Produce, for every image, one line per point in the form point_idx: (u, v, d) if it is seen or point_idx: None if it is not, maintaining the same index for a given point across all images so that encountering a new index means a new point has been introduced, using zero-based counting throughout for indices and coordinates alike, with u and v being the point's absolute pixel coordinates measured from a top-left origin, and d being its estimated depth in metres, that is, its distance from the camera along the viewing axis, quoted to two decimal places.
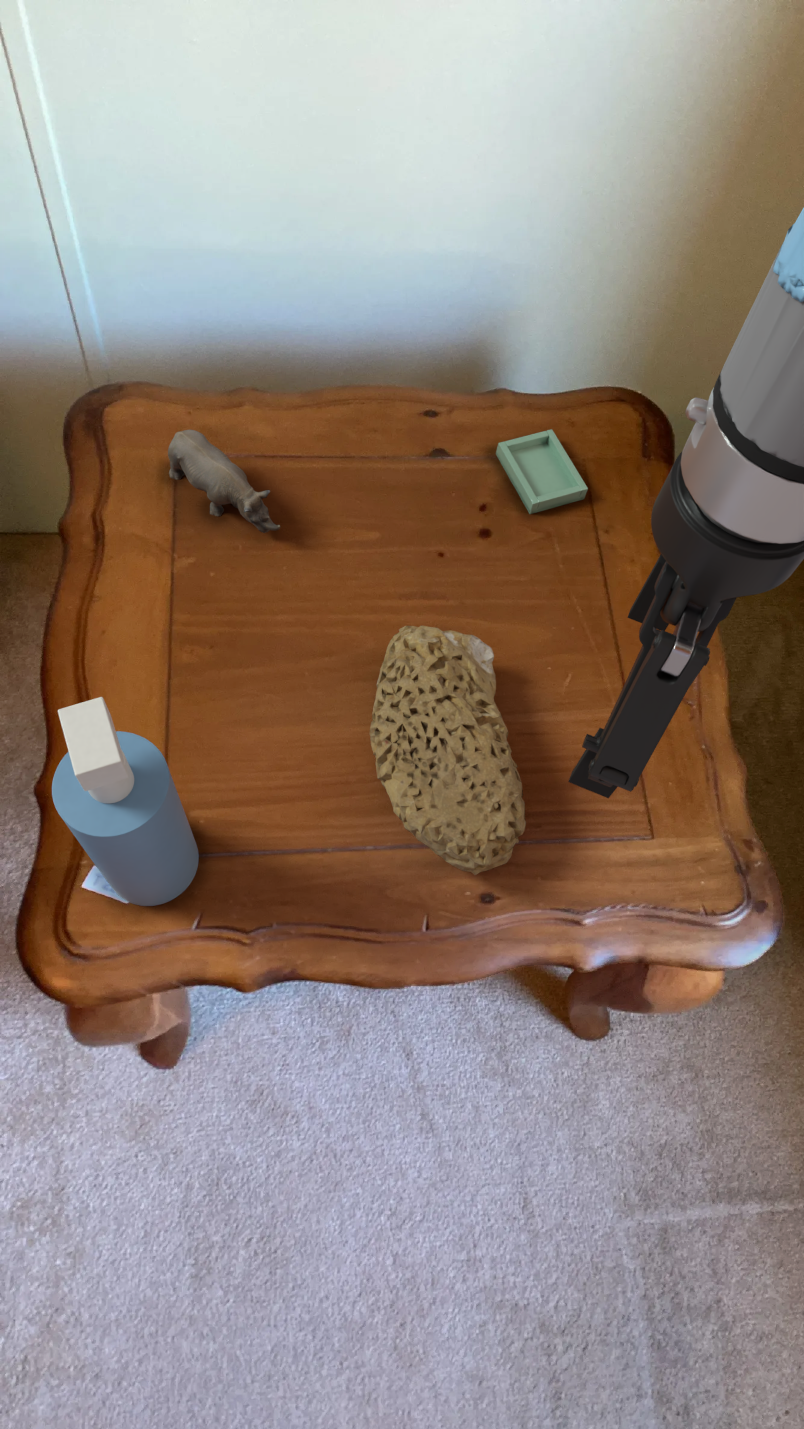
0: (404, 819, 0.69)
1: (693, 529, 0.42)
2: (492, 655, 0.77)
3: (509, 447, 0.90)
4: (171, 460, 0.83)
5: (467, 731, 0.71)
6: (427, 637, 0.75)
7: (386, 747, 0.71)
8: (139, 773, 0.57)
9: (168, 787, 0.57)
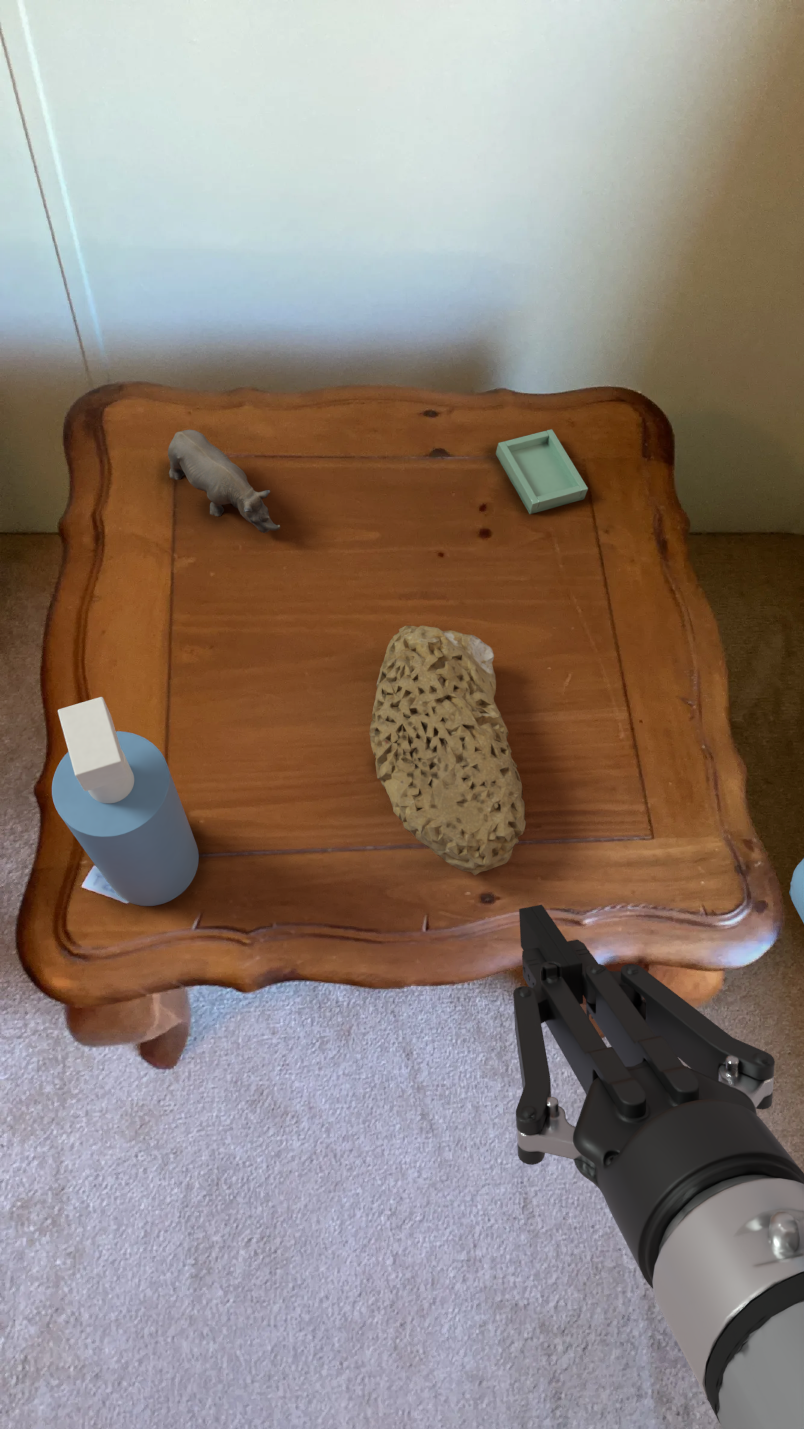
0: (404, 819, 0.69)
1: (650, 1211, 0.35)
2: (492, 655, 0.77)
3: (509, 447, 0.90)
4: (171, 460, 0.83)
5: (467, 731, 0.71)
6: (427, 637, 0.75)
7: (386, 747, 0.71)
8: (139, 773, 0.57)
9: (168, 787, 0.57)
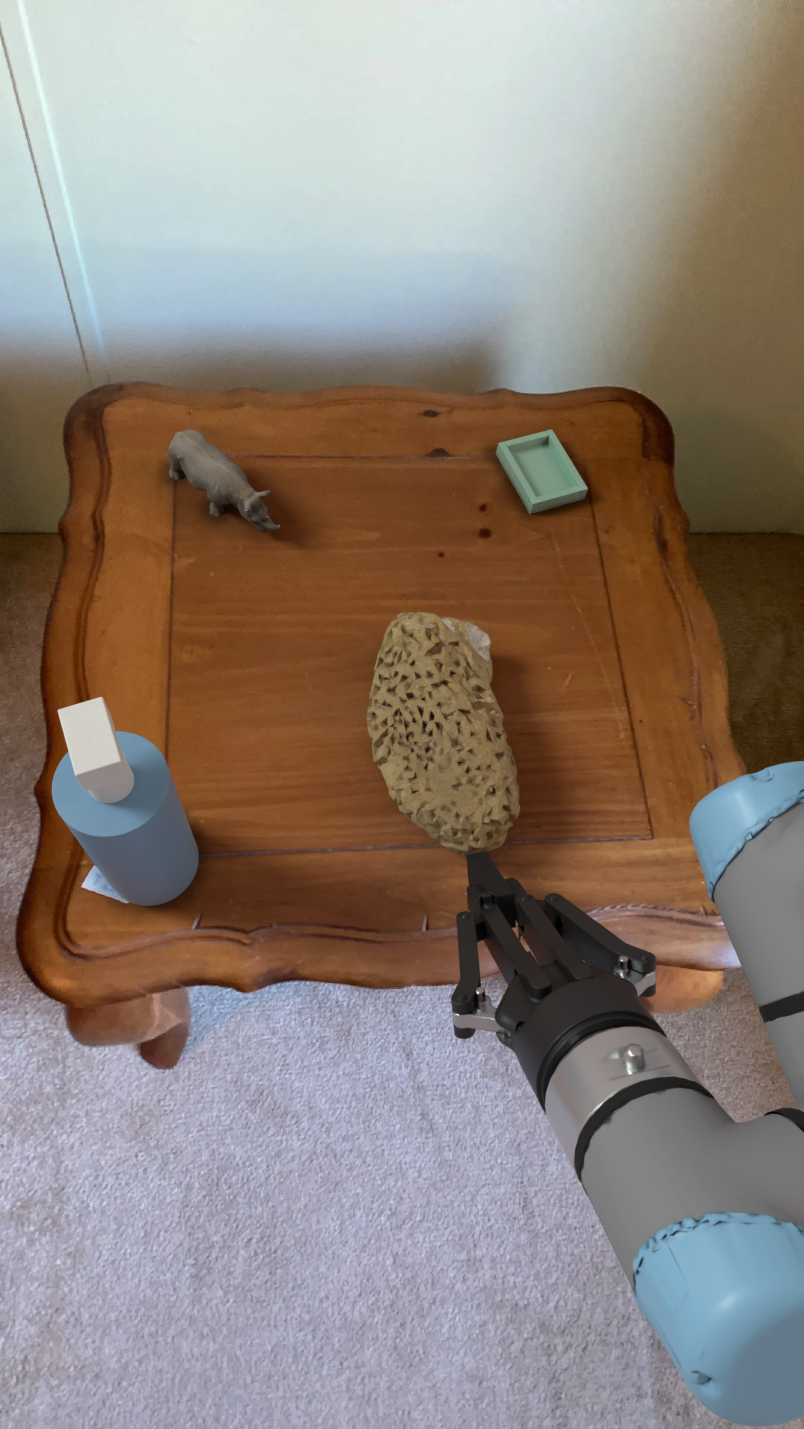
0: (399, 802, 0.70)
1: (544, 1055, 0.47)
2: (489, 642, 0.78)
3: (509, 447, 0.90)
4: (171, 460, 0.83)
5: (462, 716, 0.71)
6: (424, 623, 0.75)
7: (382, 731, 0.71)
8: (139, 773, 0.57)
9: (168, 787, 0.57)
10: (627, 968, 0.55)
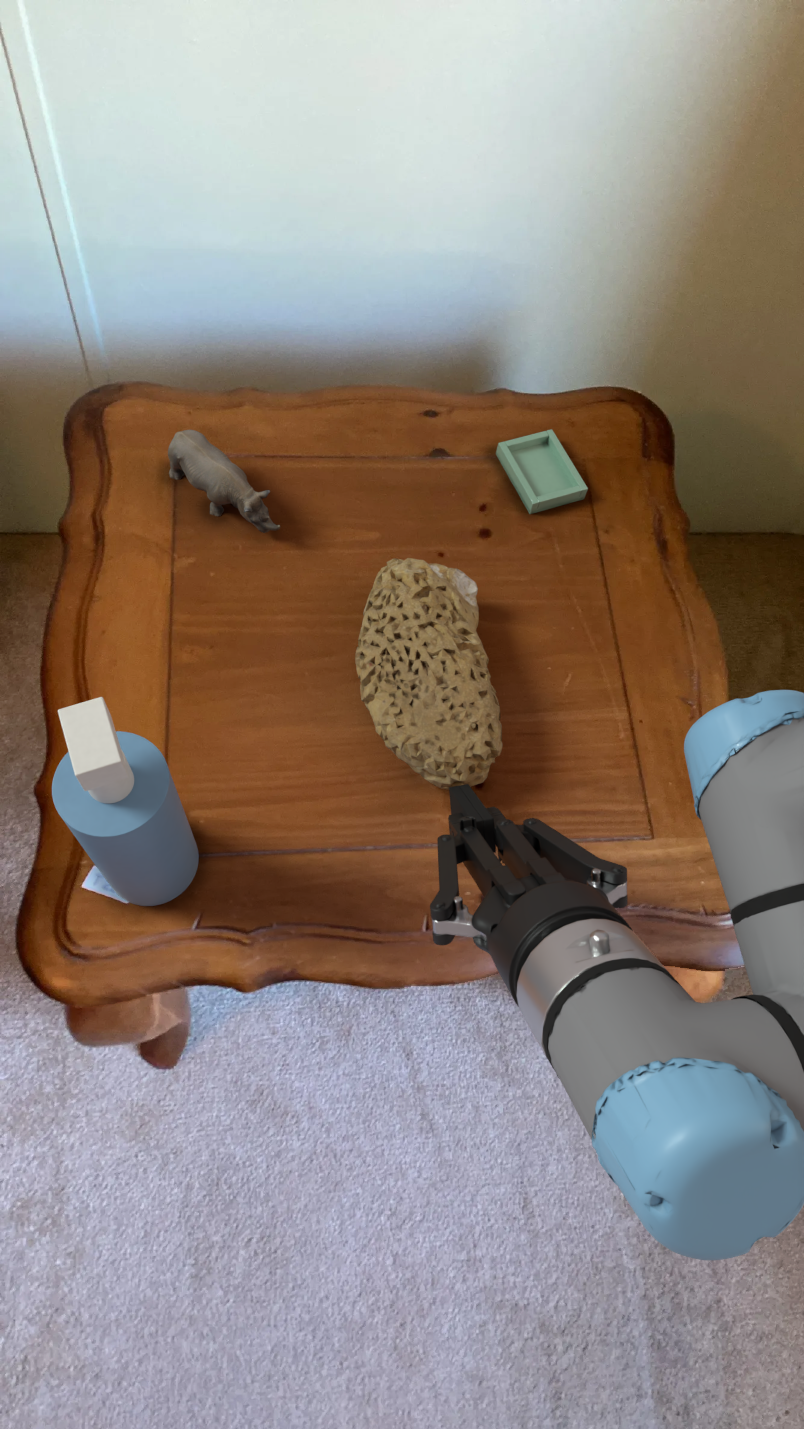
0: (385, 737, 0.72)
1: (516, 948, 0.49)
2: (476, 589, 0.80)
3: (509, 447, 0.90)
4: (171, 460, 0.83)
5: (447, 655, 0.73)
6: (412, 568, 0.78)
7: (370, 669, 0.74)
8: (139, 773, 0.57)
9: (168, 787, 0.57)
10: (600, 880, 0.57)
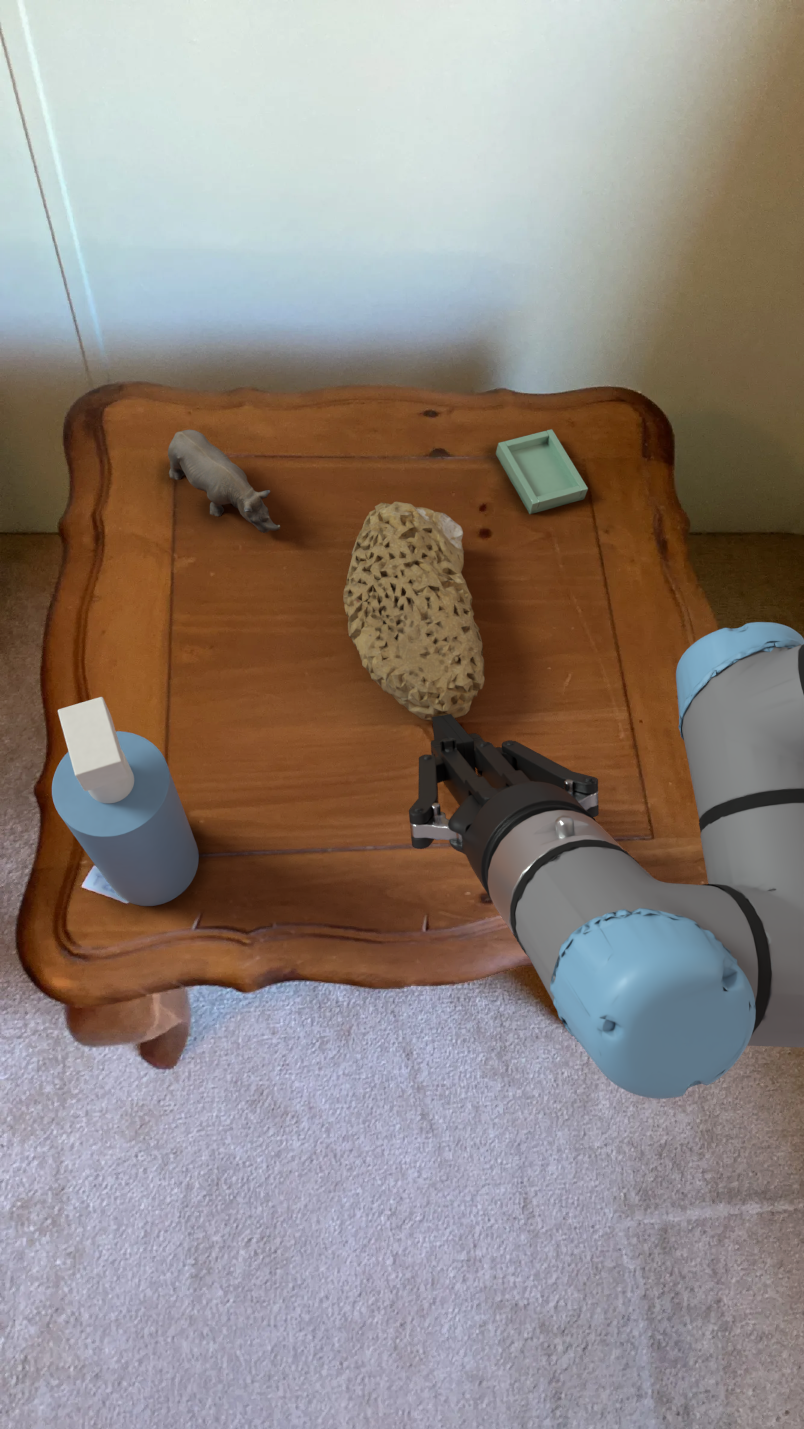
0: (371, 669, 0.75)
1: (488, 840, 0.52)
2: (461, 533, 0.83)
3: (509, 447, 0.90)
4: (171, 460, 0.83)
5: (432, 592, 0.76)
6: (400, 511, 0.80)
7: (357, 605, 0.76)
8: (139, 773, 0.57)
9: (168, 787, 0.57)
10: (572, 790, 0.60)
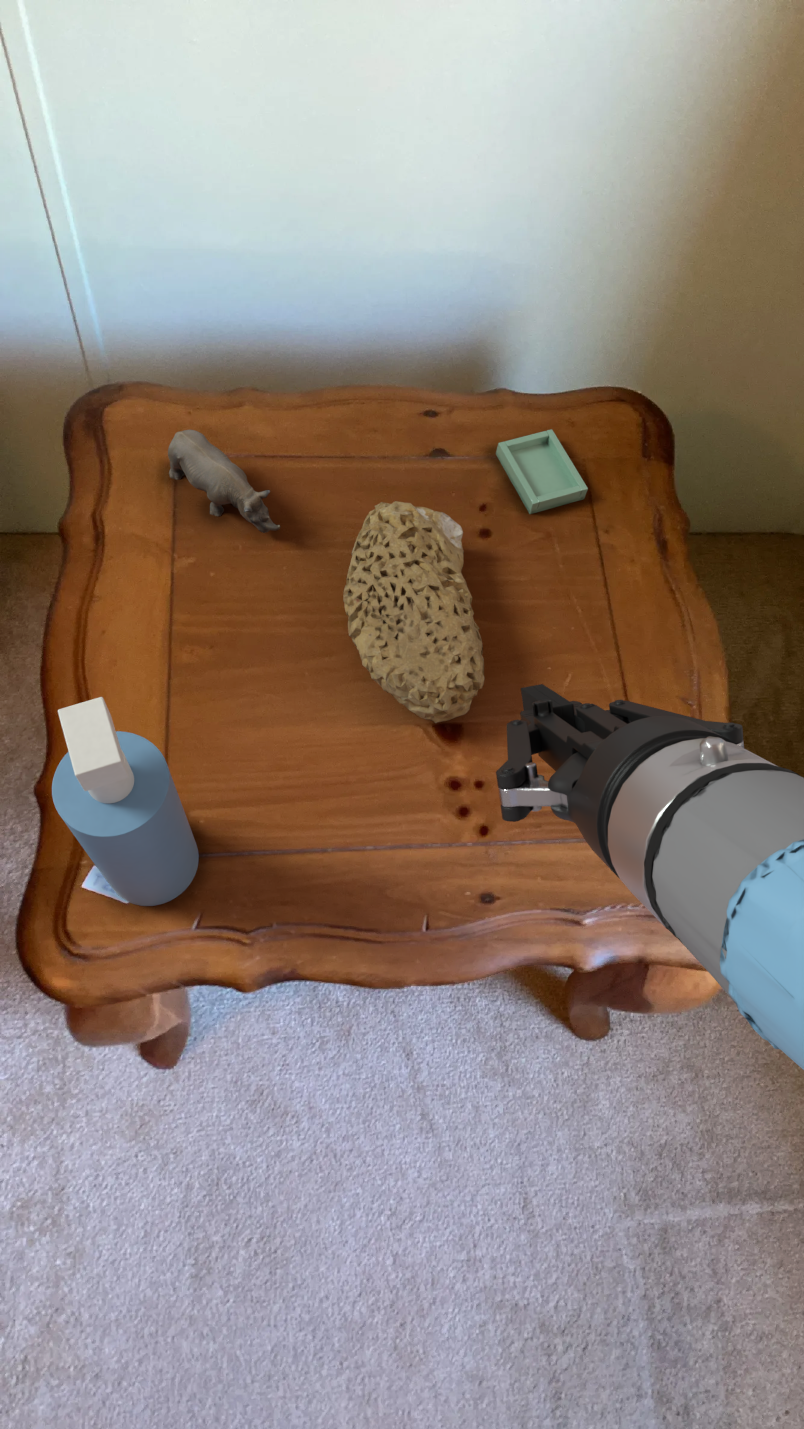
0: (371, 669, 0.75)
1: (604, 787, 0.38)
2: (461, 532, 0.83)
3: (509, 447, 0.90)
4: (171, 460, 0.83)
5: (432, 591, 0.76)
6: (399, 510, 0.80)
7: (357, 605, 0.77)
8: (139, 773, 0.57)
9: (168, 787, 0.57)
10: None
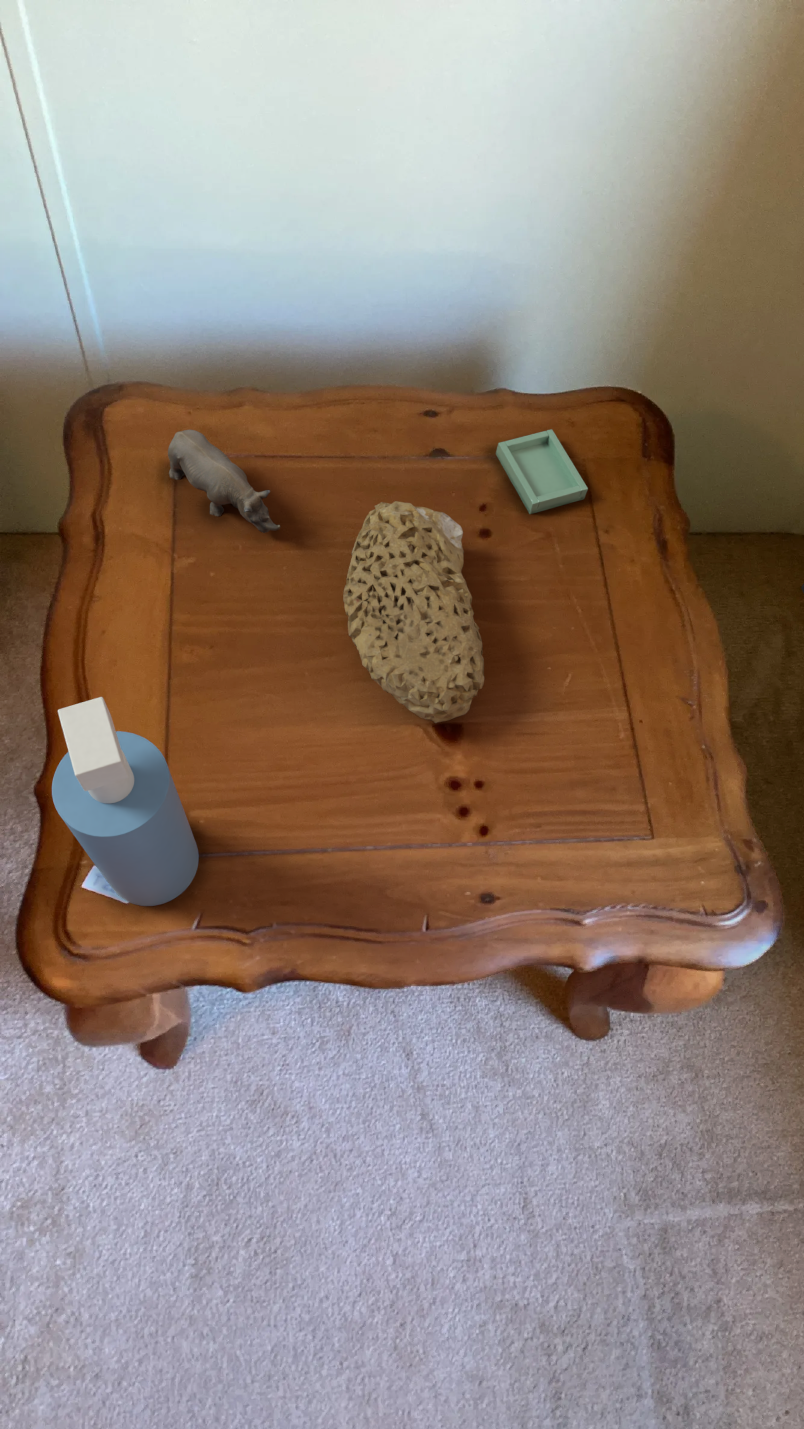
0: (371, 669, 0.75)
1: None
2: (461, 532, 0.83)
3: (509, 447, 0.90)
4: (171, 460, 0.83)
5: (432, 591, 0.76)
6: (399, 510, 0.80)
7: (357, 605, 0.77)
8: (139, 773, 0.57)
9: (168, 787, 0.57)
10: None
